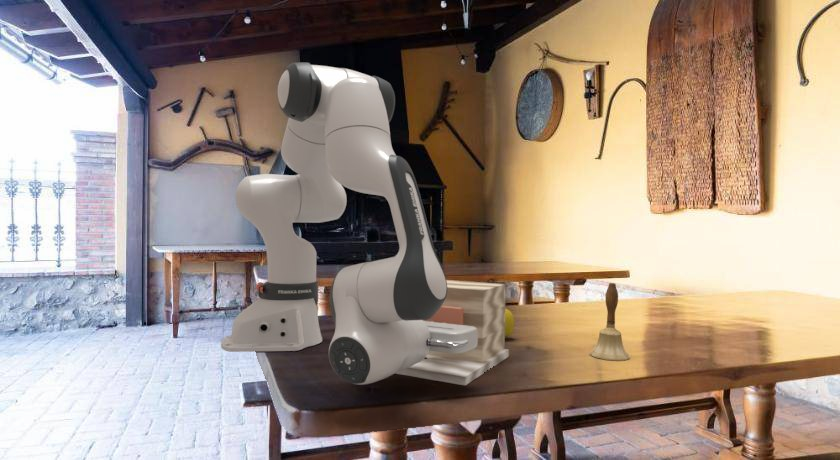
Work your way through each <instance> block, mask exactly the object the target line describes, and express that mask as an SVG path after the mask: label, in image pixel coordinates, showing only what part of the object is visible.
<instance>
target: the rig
mask: <svg viewBox="0 0 840 460" xmlns="http://www.w3.org/2000/svg"><path fill="white" fill-rule="evenodd" d="M446 282H447V296H446V299H445V301H444V302H443V304H442V306H449V307H459V308H463V325H465V326H474V327H476V328H477V330H478V344H477V347H476V348H474V349H471V350H469V351H466V352H462V353H444V352H437V351H429V352H428V354H427V356H426V357H425V358H424V359H423V360H422V361H420V362H418V363H416V364H414V365H412V366H410V367H408V368H406V369H404V370H400V371H397V372H396V373H394V374H397V375H403V376H406V377H407V376H409V377H412V378H419V379H425V380H430V381H438V382H443V383H448V384H453V385H459V386H467V385H468V384H470V383H472V382H473V381H474V380H475V379H477V378H479V377H481V376H482V375H484V374H485V373H487V372H488V371H490V370H491V369H493V366H494V367H495V366H497V365H499V364H500V363H501V362H503V361H504V360H506V359H507V358H509V357H510V349H507V348H505V343H506V340H505V339H506V337H505V308H506V283H495V282H494V283H493V282H484V281H483V282H482V281H480V282H479V281H467V280H466V281H465V280H453V279H446ZM423 321H427V320H423ZM490 368H491V369H490ZM487 370H488V371H487ZM484 372H485V373H484Z"/></svg>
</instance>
